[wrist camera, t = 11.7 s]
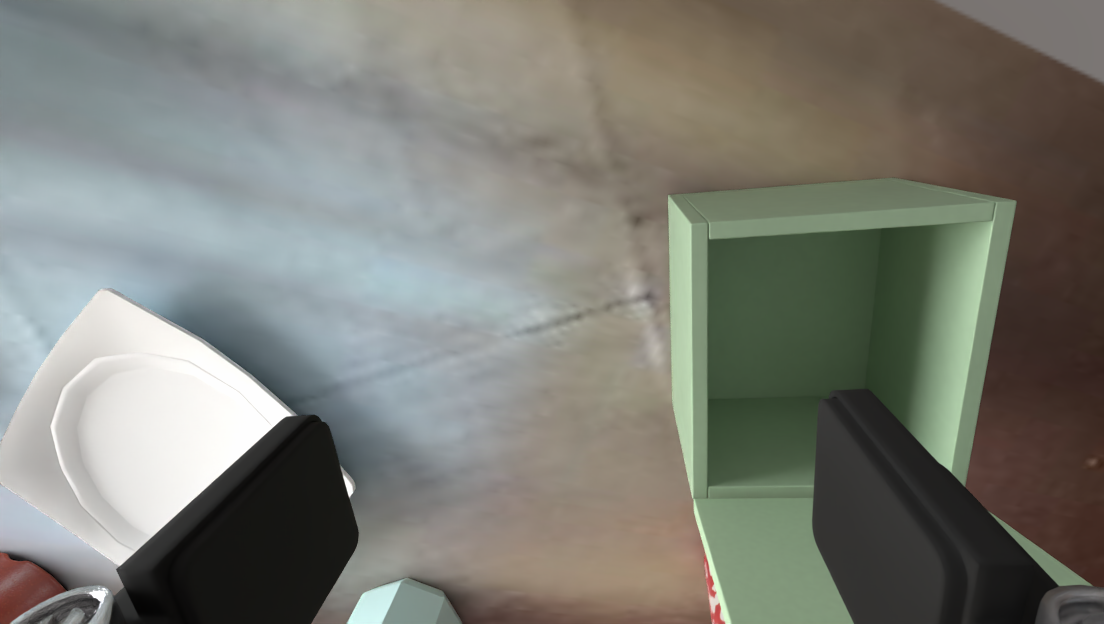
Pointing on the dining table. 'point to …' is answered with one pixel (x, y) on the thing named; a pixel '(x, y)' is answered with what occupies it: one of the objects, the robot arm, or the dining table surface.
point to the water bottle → (404, 605)
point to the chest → (827, 321)
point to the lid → (789, 562)
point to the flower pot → (23, 587)
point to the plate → (130, 425)
